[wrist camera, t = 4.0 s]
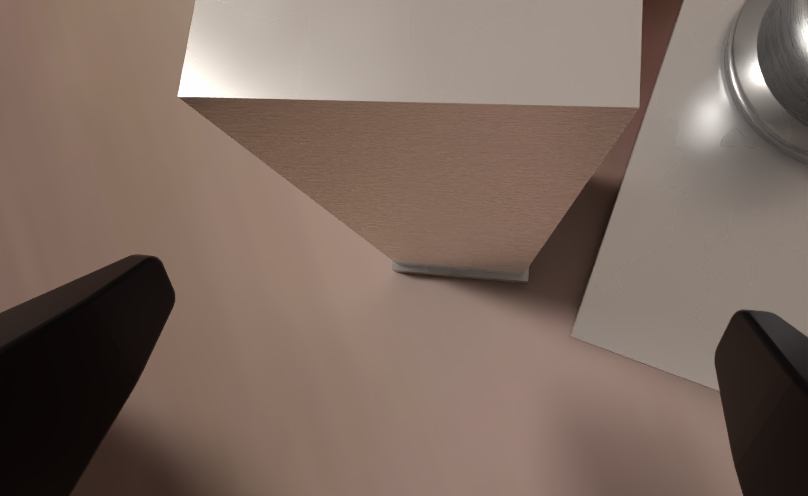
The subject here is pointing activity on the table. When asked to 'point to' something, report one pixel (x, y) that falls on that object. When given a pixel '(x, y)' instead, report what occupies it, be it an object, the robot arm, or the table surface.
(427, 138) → the duct elbow
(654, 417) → the table surface
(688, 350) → the duct flange
